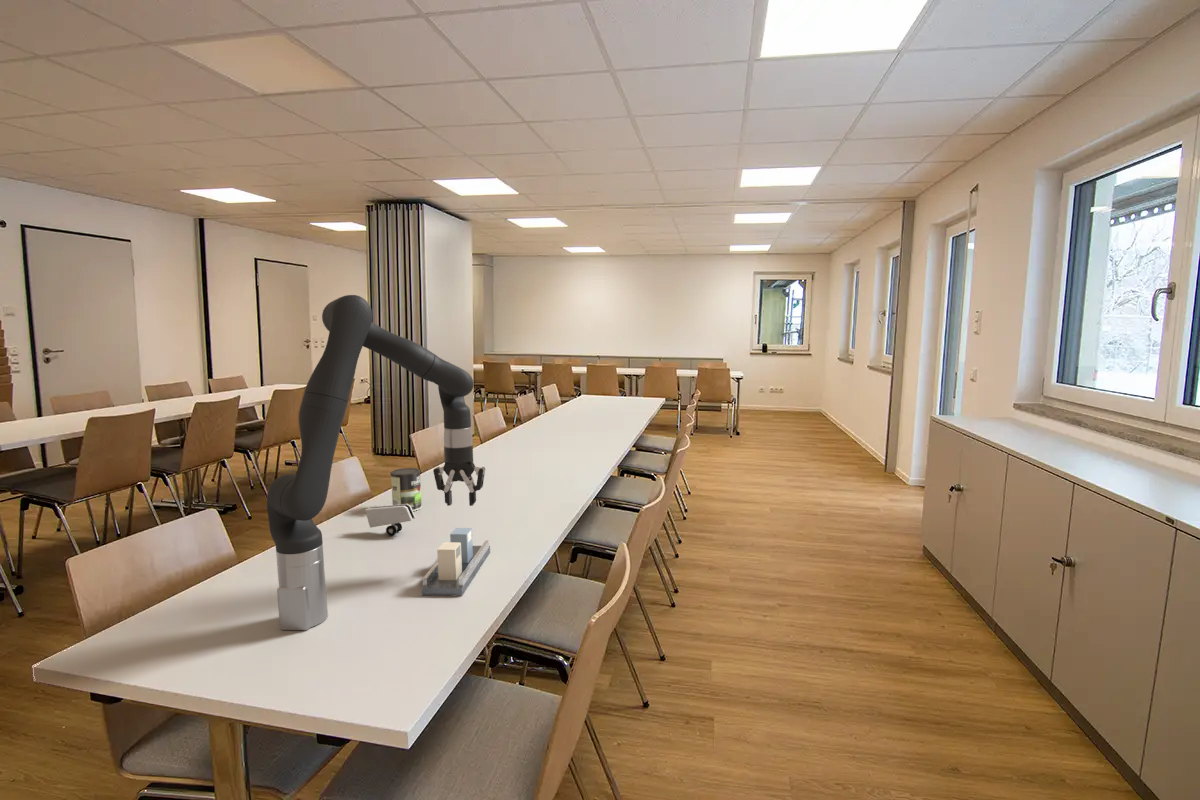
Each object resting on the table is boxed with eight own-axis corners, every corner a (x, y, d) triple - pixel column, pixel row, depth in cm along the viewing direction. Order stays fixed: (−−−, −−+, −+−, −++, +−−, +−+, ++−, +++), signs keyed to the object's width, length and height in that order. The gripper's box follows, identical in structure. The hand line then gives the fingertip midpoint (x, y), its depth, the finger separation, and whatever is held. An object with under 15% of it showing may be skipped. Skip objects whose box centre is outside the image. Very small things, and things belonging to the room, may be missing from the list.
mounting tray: (462, 596, 142) (461, 580, 141) (421, 595, 142) (421, 579, 142) (490, 552, 169) (489, 539, 169) (456, 552, 170) (456, 538, 169)
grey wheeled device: (371, 539, 185) (413, 532, 182) (364, 509, 184) (406, 502, 181) (378, 534, 189) (419, 528, 186) (371, 506, 188) (412, 498, 185)
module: (467, 562, 157) (466, 534, 156) (451, 562, 157) (450, 534, 156) (473, 555, 162) (472, 528, 161) (456, 555, 162) (455, 527, 161)
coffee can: (426, 505, 217) (425, 468, 215) (413, 513, 206) (411, 474, 205) (401, 504, 218) (399, 467, 216) (387, 512, 208) (384, 474, 206)
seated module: (456, 580, 146) (455, 549, 145) (438, 580, 146) (437, 549, 145) (462, 572, 151) (461, 542, 150) (444, 571, 151) (443, 542, 150)
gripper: (427, 446, 152) (430, 509, 154) (481, 446, 151) (483, 509, 153) (436, 441, 160) (439, 500, 162) (488, 441, 159) (490, 501, 161)
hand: (460, 504), depth 158 cm, fingers open, 5 cm apart
